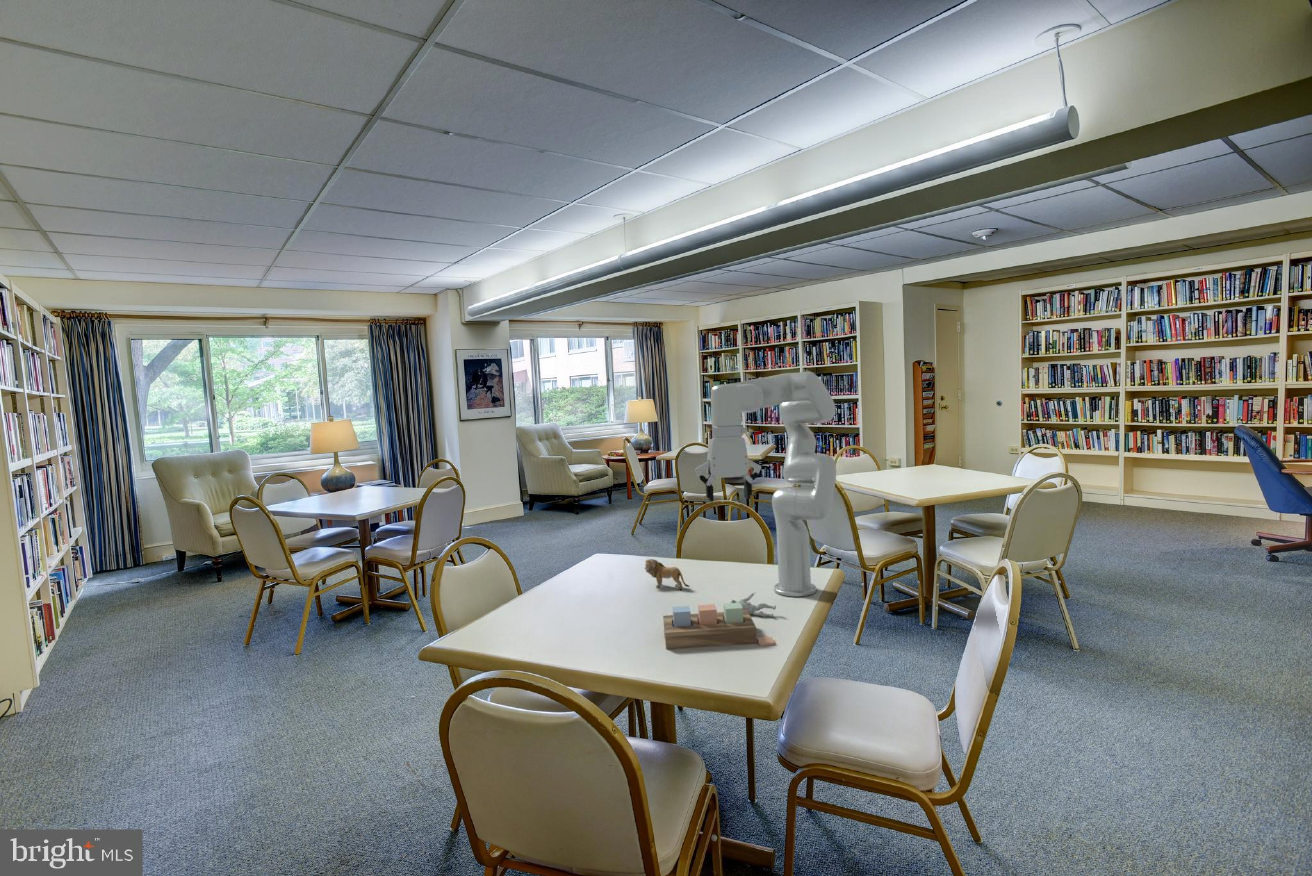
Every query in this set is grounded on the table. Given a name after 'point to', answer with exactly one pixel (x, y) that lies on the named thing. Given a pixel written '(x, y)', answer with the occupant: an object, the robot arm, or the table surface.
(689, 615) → the light blue block
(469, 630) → the table surface
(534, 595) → the table surface
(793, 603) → the table surface
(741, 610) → the mint green block
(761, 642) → the tile
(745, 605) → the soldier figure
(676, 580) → the lion figurine
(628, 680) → the table surface
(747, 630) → the board
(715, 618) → the salmon pink rectangular block
